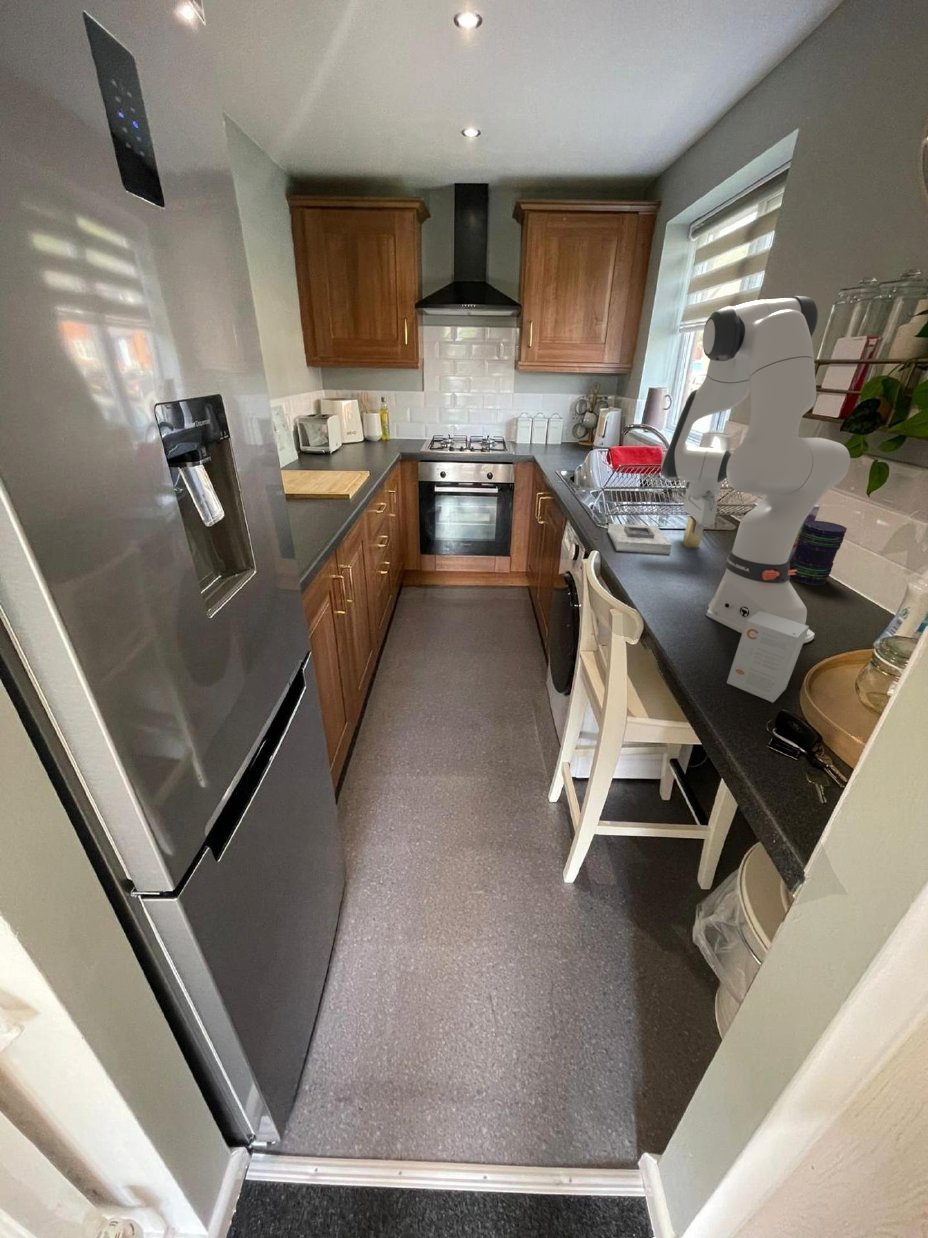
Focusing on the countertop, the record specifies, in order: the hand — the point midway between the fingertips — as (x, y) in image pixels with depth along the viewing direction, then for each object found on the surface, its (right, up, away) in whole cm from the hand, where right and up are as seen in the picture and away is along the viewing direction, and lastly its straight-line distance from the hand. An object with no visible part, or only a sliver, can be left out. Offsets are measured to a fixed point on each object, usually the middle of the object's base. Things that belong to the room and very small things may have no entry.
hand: (693, 531), depth 158 cm
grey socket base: (-17, -3, +3) cm, 18 cm away
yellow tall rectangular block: (0, -4, +2) cm, 5 cm away
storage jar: (+21, -17, -21) cm, 34 cm away
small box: (-21, -41, -69) cm, 83 cm away
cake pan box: (+17, -11, -10) cm, 23 cm away
